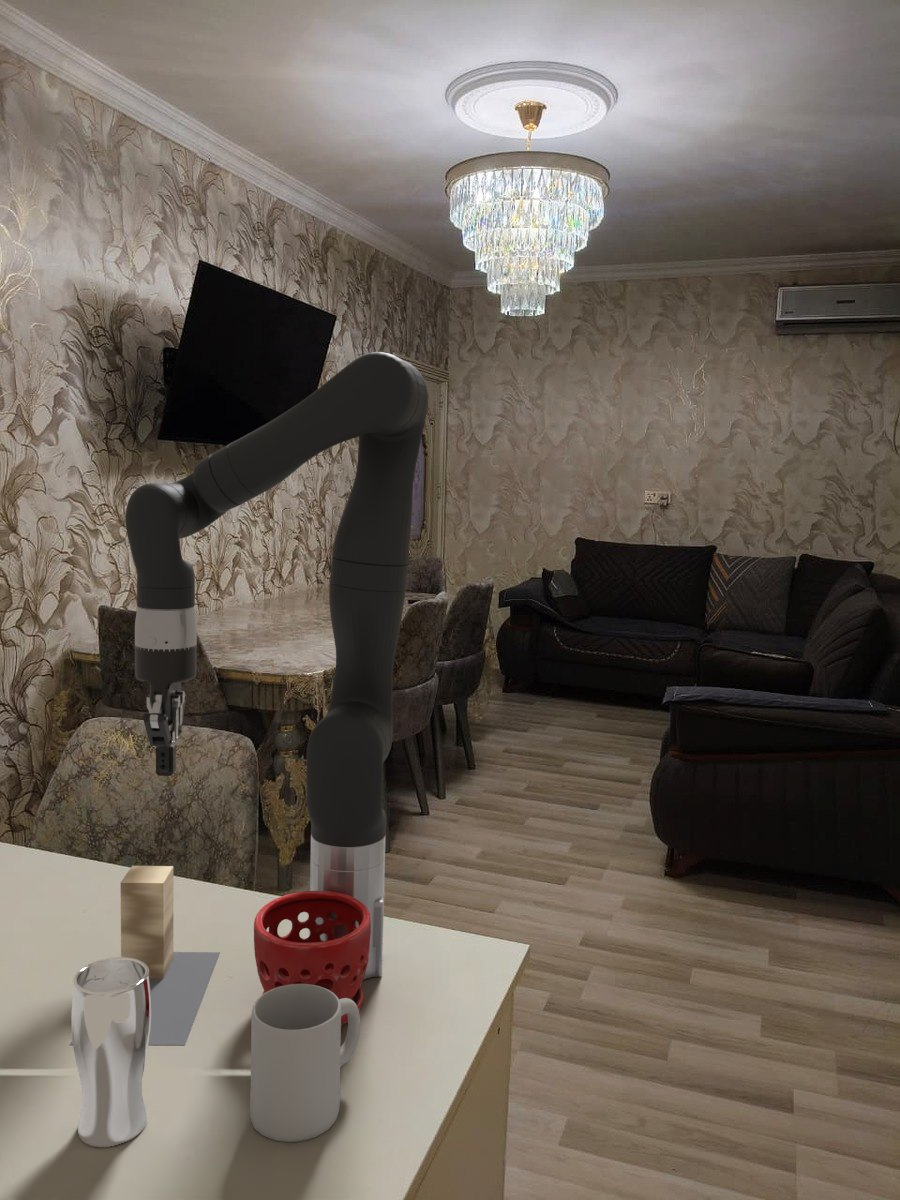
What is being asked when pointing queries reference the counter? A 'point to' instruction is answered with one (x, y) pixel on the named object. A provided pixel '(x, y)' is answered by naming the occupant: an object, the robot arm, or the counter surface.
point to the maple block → (148, 917)
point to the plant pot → (314, 944)
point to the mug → (298, 1060)
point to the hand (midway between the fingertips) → (165, 773)
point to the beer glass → (111, 1048)
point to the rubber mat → (179, 996)
